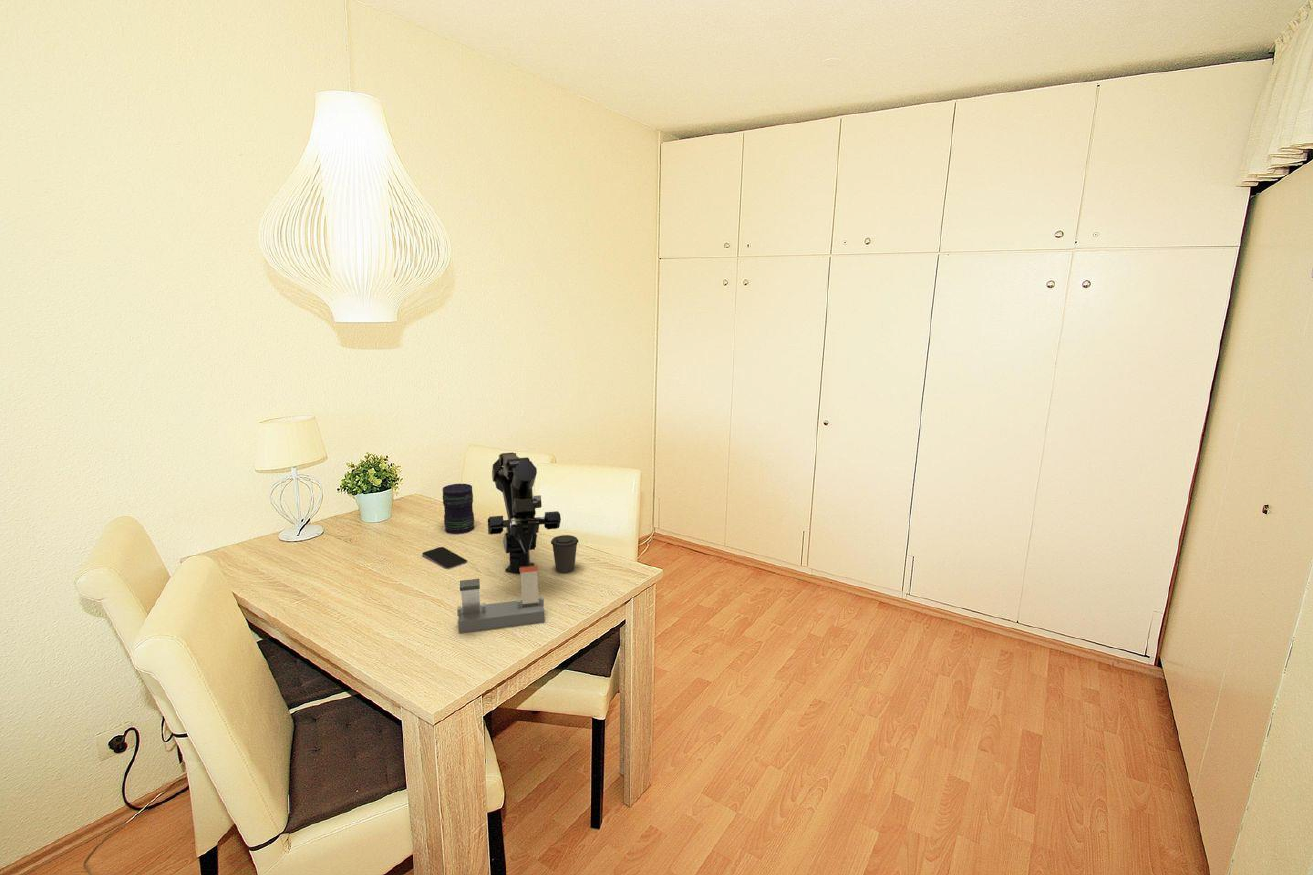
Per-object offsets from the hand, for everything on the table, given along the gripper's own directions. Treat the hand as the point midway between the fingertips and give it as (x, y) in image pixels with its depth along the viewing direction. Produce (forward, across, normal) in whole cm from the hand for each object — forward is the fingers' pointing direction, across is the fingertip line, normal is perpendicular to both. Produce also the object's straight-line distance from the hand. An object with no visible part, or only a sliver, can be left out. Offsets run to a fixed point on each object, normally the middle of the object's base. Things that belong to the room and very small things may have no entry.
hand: (526, 552), depth 151 cm
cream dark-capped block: (+13, -14, +1) cm, 19 cm away
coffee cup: (-2, +12, +21) cm, 24 cm away
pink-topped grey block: (+13, 0, +1) cm, 13 cm away
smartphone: (-13, -22, +33) cm, 42 cm away
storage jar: (-31, -19, +50) cm, 62 cm away
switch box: (+16, -7, +4) cm, 17 cm away
